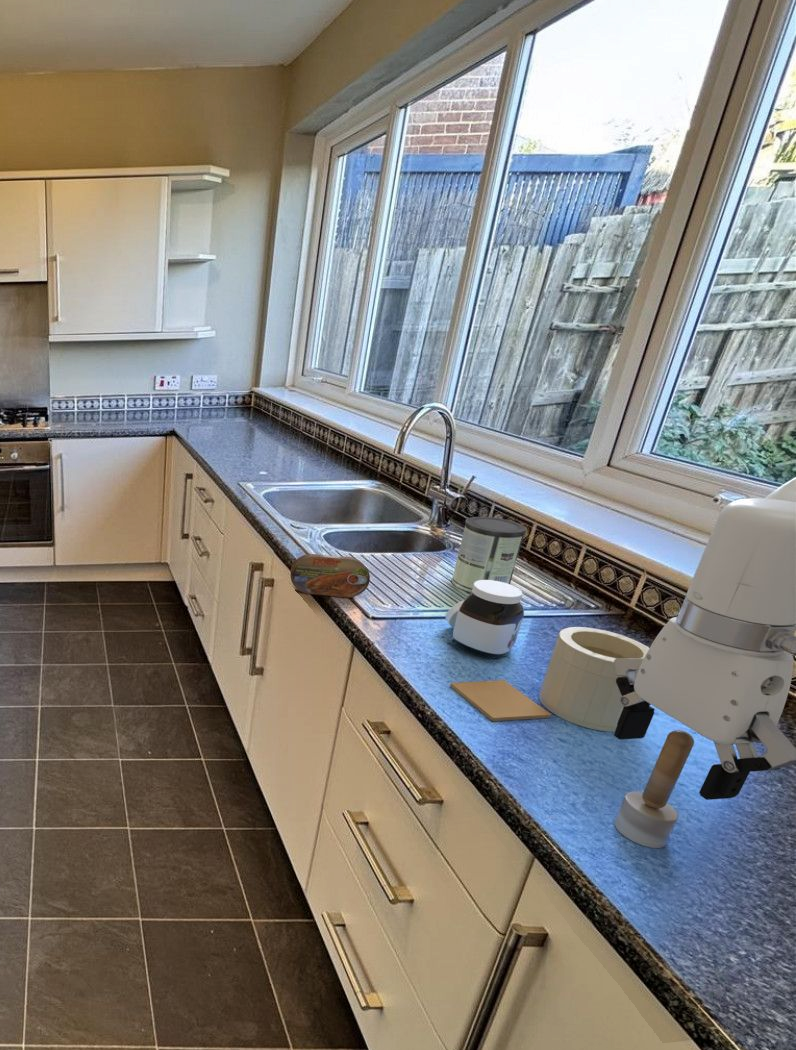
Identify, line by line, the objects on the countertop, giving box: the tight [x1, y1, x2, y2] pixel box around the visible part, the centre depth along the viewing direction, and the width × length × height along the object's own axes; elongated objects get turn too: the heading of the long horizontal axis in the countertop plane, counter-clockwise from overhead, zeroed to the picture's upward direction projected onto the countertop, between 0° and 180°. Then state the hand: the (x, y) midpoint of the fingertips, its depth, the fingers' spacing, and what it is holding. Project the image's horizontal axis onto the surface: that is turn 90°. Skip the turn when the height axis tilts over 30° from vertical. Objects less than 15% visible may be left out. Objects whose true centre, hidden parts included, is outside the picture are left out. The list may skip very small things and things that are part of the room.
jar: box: [538, 626, 650, 733], centre depth 90 cm, size 11×11×11 cm
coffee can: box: [451, 516, 527, 594], centre depth 129 cm, size 10×10×14 cm
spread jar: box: [445, 580, 525, 659], centre depth 108 cm, size 12×11×12 cm
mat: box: [449, 679, 552, 722], centre depth 94 cm, size 9×9×1 cm
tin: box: [290, 553, 371, 599], centre depth 128 cm, size 15×3×8 cm, turn 73°
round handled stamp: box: [613, 729, 695, 849], centre depth 68 cm, size 4×4×14 cm
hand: (669, 764), depth 67 cm, fingers open, 8 cm apart
